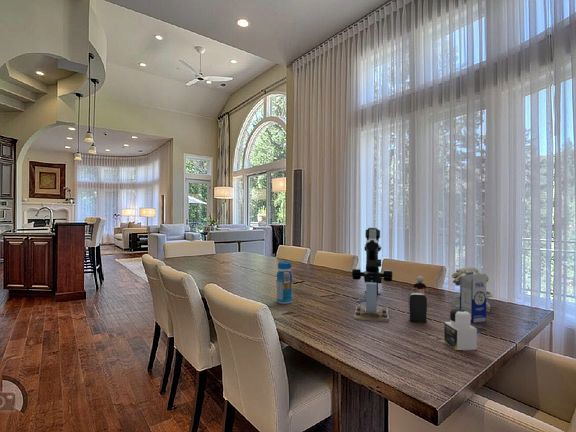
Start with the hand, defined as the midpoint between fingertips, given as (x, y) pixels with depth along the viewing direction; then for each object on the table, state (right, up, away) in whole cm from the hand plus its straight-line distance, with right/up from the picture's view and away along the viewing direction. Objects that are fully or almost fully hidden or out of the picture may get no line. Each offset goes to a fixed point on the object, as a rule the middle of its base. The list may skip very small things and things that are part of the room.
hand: (371, 290), depth 147 cm
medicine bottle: (+19, -9, -41) cm, 46 cm away
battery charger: (+15, -9, -16) cm, 24 cm away
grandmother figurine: (+28, -9, +13) cm, 32 cm away
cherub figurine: (+50, -9, +6) cm, 51 cm away
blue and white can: (-41, -9, +12) cm, 44 cm away
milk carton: (+38, -9, -15) cm, 42 cm away
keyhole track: (-2, -9, -8) cm, 12 cm away
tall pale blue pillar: (-3, -7, -11) cm, 13 cm away
